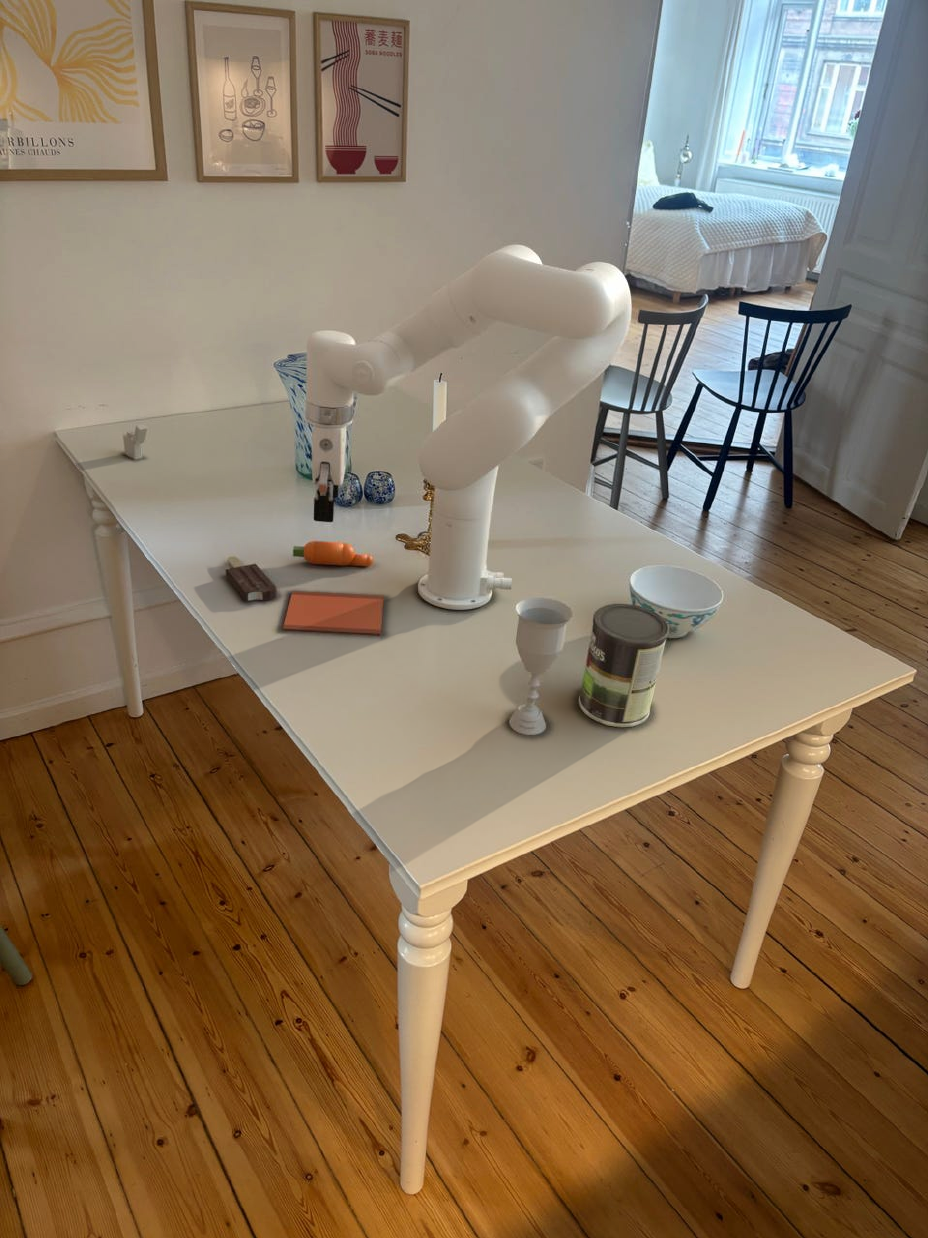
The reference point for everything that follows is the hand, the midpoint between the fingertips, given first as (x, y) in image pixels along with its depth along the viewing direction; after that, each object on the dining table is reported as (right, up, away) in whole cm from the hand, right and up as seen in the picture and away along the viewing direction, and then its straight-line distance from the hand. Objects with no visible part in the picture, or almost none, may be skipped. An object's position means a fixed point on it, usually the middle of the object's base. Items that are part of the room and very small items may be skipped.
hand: (326, 508), depth 158 cm
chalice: (+32, -33, -30) cm, 55 cm away
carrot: (0, -9, +5) cm, 10 cm away
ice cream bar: (-13, -13, -3) cm, 18 cm away
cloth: (+3, -18, -9) cm, 20 cm away
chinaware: (+57, -20, -4) cm, 61 cm away
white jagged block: (-46, +15, +39) cm, 62 cm away
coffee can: (+45, -31, -25) cm, 60 cm away
